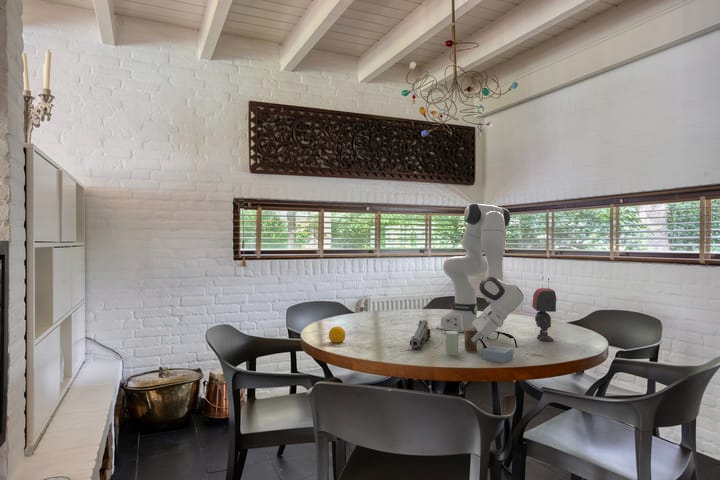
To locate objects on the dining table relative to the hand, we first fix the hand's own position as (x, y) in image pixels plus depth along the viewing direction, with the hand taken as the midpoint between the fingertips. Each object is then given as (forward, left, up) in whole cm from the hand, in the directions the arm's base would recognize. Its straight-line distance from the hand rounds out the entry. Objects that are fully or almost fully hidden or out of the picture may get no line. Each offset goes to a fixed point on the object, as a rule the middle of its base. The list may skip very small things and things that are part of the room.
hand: (470, 338), depth 196 cm
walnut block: (0, 0, -5) cm, 5 cm away
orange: (-56, -23, -5) cm, 61 cm away
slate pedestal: (+14, -6, -6) cm, 16 cm away
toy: (-23, -3, -6) cm, 24 cm away
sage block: (-4, -10, -5) cm, 12 cm away
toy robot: (+20, +40, -5) cm, 45 cm away
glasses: (+3, +18, -6) cm, 19 cm away
